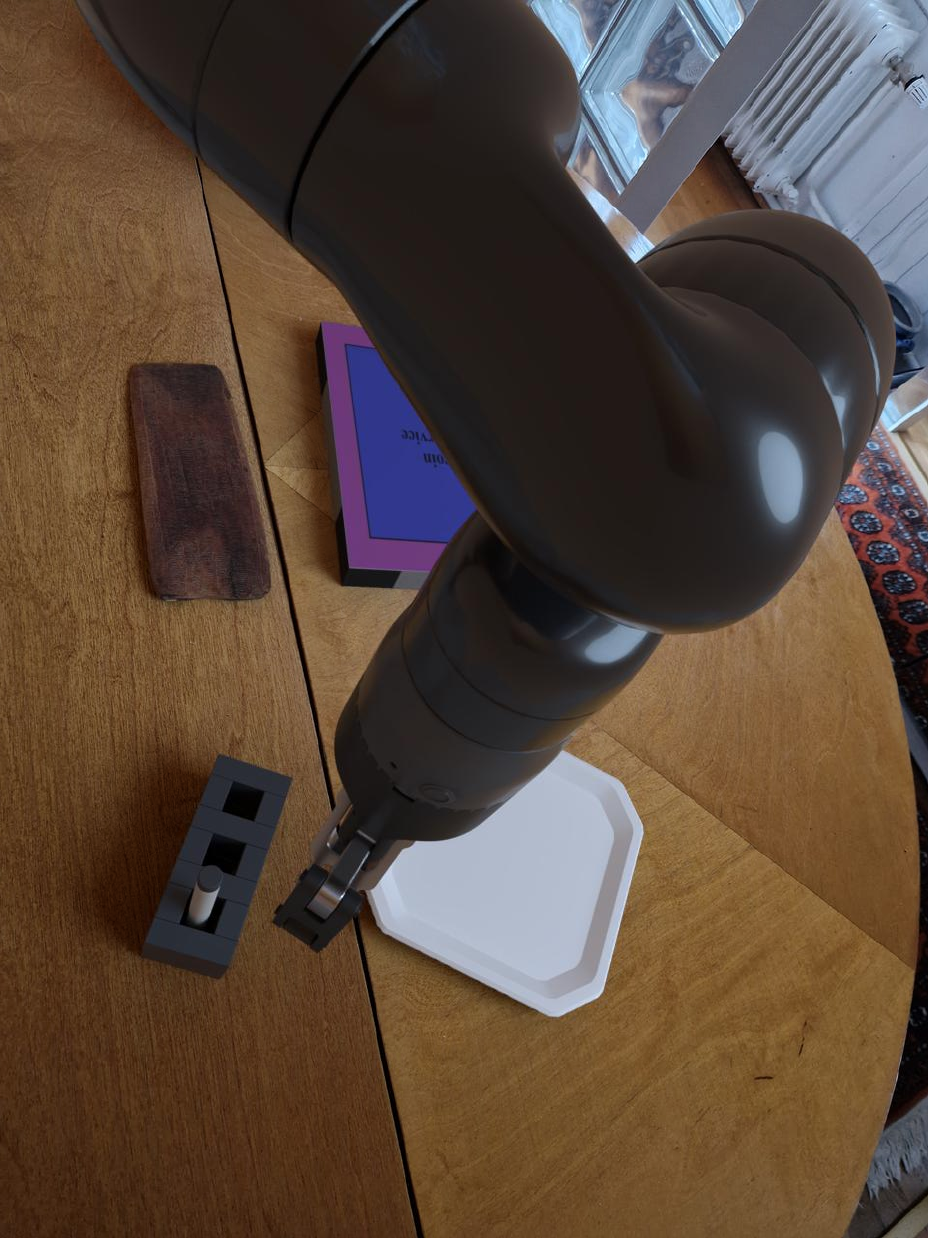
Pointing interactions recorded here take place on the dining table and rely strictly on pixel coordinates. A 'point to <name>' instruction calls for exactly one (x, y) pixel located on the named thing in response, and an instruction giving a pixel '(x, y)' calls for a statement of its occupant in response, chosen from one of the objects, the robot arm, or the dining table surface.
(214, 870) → the stylus
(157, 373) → the wooden tablet
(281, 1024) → the dining table surface
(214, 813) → the pen block
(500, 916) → the plate
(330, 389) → the book
